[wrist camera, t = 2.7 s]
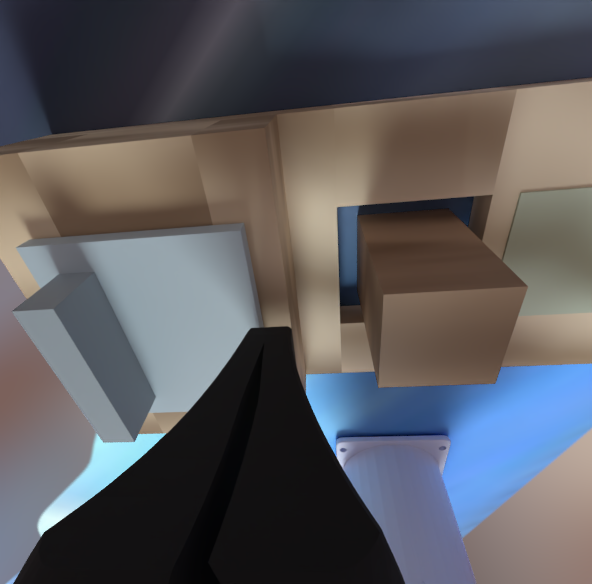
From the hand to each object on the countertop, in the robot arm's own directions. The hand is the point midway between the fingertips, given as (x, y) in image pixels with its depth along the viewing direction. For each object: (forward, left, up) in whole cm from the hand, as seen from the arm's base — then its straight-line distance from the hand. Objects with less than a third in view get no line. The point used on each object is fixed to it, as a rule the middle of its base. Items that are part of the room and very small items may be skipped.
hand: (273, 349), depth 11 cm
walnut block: (0, -6, -6) cm, 9 cm away
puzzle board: (0, -4, -6) cm, 7 cm away
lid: (0, +4, -1) cm, 4 cm away
